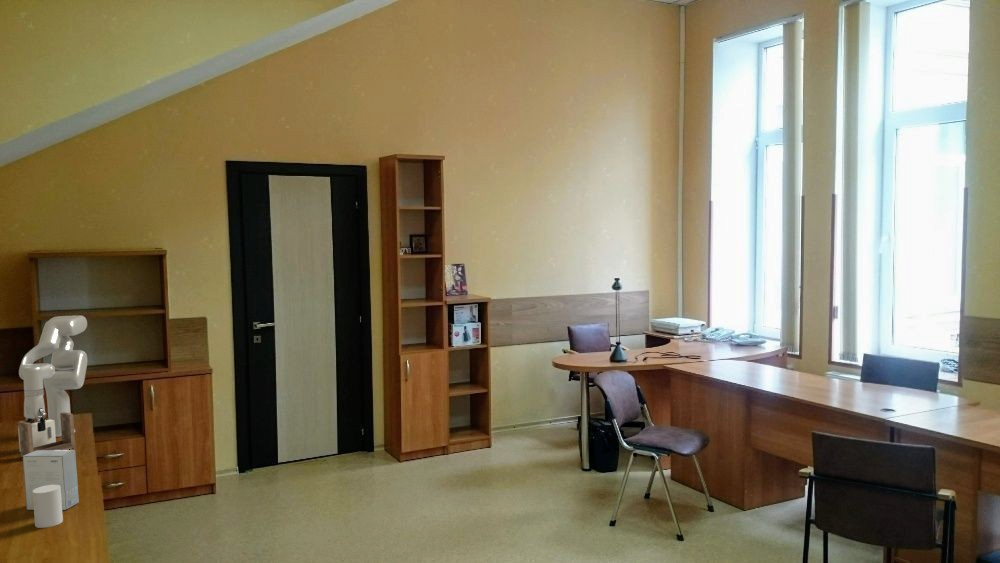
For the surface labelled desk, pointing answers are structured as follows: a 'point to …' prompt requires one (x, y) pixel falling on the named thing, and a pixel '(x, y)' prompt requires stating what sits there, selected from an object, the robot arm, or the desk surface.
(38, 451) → the hard drive box
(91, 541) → the desk surface
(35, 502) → the white cylinder
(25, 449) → the door frame
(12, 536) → the desk surface
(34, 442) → the door panel
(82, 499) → the desk surface
